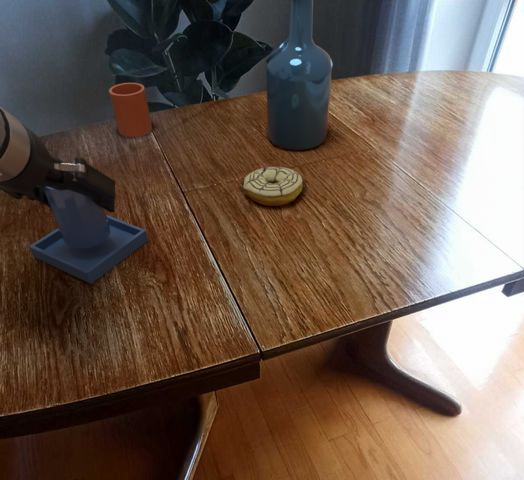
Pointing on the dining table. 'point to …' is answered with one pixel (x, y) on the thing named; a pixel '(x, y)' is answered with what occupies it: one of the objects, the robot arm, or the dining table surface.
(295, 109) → the wine bottle
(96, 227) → the blue cup
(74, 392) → the dining table surface
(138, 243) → the blue tray
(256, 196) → the decorated donut
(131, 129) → the terracotta cup
